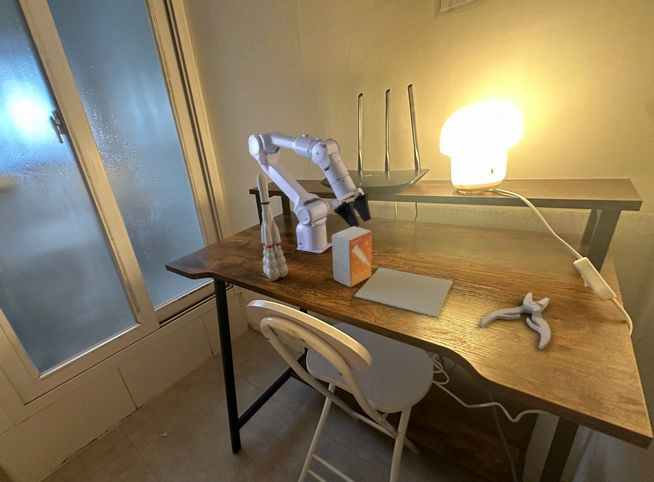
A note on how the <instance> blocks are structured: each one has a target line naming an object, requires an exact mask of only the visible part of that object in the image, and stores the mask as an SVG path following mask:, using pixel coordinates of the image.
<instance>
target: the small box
mask: <svg viewBox="0 0 654 482" xmlns="http://www.w3.org/2000/svg"><path fill="white" fill-rule="evenodd" d="M372 241H373V231H372V230H371V229H366V228H362V227H360V226H358V227H355V226H353V227H348V228H345V229H343V230H340V231H338V232H336V233H333V234H331V243H332V245H331V251H332V252H331V253H332V266H333V267H332V269H333V280H334V281H336V282H337V283H338V282H339V283H340V284H342V285H345V286H347V287H349V288H352V287H354V286H356V285H357V284H359V283H361V282H363V281H365V280H367V279H370V277H371V276H372V260H373V259H372V256H373V254H372V249H373V247H372V246H373V243H372Z"/></svg>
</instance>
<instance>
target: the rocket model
mask: <svg viewBox="0 0 654 482" xmlns="http://www.w3.org/2000/svg"><path fill="white" fill-rule="evenodd" d="M264 173H265V172H264V171H263V170H261V169H259V172H258V174H257V176H256V183H257V189H258V191H259V197H260V203H261V204H260V205H261V210H262V212H261V216H262V222H261V227H260V231H261V243H262V244H263V251H262V253H263V257H262V264H263V268H262V269H263V273H264V274H265V276H267V278H268V279H270V281H277V280H278V279H279V278H285V277H286V276H287V275H288V272H289V267H288V266H287V262H286V261H287V260H286V257H285V255H284V252H283V250H282V247H281V243H282V240H281V239H282V238H281V236H280V231H279V228H278V226H277V224H276V222H275V219H274V216H273V212H272V209H271V203H270V202H271V201H270V197H269V184H268V183H269V182H268V178H267V176H266V174H264Z"/></svg>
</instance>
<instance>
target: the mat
mask: <svg viewBox="0 0 654 482" xmlns="http://www.w3.org/2000/svg"><path fill="white" fill-rule="evenodd" d="M452 285H453V280H450V279H445V278H439V277H434V276H429V275H423V274H418V273H412V272H407V271H401V270H396V269H392V268H391V269H390V268H385V267H378V268H377V270H376V271H375V272H373V274H371V277H369V278H368V280H367V281H366V282H365V283H364V284H363V285H362V286H361V287H360V289H358V291H357V292H356V293H355V294H354V296H353V297H354V298H358V299H362V300H366V301H369V302H374V303H377V304H380V305H381V304H382V305H386V306H390V307H394V308H396V309H397V308H398V309H402V310H405V311H409V312H413V313H417V314H421V315H424V316H429V317H432V318H437V316H438V313H439V312H440V309H441V307H442V305H443V303H444V301H445V299H446V297H447V295H448V292H449V290H450V288H451V286H452Z"/></svg>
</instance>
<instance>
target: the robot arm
mask: <svg viewBox="0 0 654 482" xmlns="http://www.w3.org/2000/svg"><path fill="white" fill-rule="evenodd" d="M248 148H249V149H248V151H249V154H250V155H251V156H252V157H253V159H255V160H256V161H257V162H258V164H259V166H260V168H261V169H262V172H263V173H265V175H267V176H268V177H269V178H270V179H271V180H272V181H273V182H274V184H275V185H276V186H277V187H278V188H279V189H280V190H281V191H282V192H283V193H284V194H285V195H286V196H287V197H288V198H289V199H290V201H291V202H292V203H293V204H294V206H293V213H294V214H295V215H296V217H297V220H298V221H299V223H298V224H297V226H296V231H295V233H296V240H297V241H296V242H297V247H296V250H297V251H305V252H308V253H309V252H311V253H315V254H322V253H323V252H324V251H326V250H328V249H329V248H330V247H332V242H328V238H327V237H328V236H327V224H326V221H327V220H328V219H327V217H328V216H329V215H330V210H331V209H330V205H329V203H328V202H327V200H325V199H324V198H321V197H319V196H318V194H315V193H310V192H308V191H307V190H306V189H305V188H304V186H302V185H301V184H300V183H299V182H298V181H297V180H296V179H295V178H294V177H293V175H291V174H290V173H289V172H288V171H287V170H286V168H284V167H283V165H281V164H280V162H279V160H280V158H281V148H283V149H284V148H285V149H288V150H293V151H294V153H295V155H297V156H300V157H303V158H307V159H310V160H311V161H312V162H313V163H314V164H315V165H317V166H319V168H320V170H322V171H323V173H324V175H325V177H326V179H327V181H328V183H329V185H330V187H331V189H332V191H333V193H334V195H335V197H336V198H335V199H333V200H332V201H331V204H332V206H333V208H334V209H333V213H335V214H336V215H338V216H339V217H340V218H341V219H342V220H343V221H344V222H345V223H347V225H348V226H349V228H351V227H353V226H355V227H360V222H359V219H358V216H359V217H360V219H361V220H362V221H363V222H364V223H365V222H369V221H370V220H371V219H372V216H371V211H370V207H369V193H365V192H364V191H363V189H362V188H361V187H356V185H355V183H354V181H353V179H352V177H351V176H350V174H349V171H348V170H347V167H346V166H345V163H344V161H343V160H342V158H341V155H340V152H341V148H340V145H339V143H338V141H336V140H335V139H333V138H327V139H326V140H323V138H322V137H320V136H318V137H317V136H316V137H313V136H310V133H303V134H300V135H299V136H298V137H295V136H292V135H288V134H286V133H282V132H280V131H276V130H271V131H267V132H263V133H257V134H256V133H255V134H251V135H250V136H249V138H248ZM356 213H357V214H358V216H357V214H356Z"/></svg>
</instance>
